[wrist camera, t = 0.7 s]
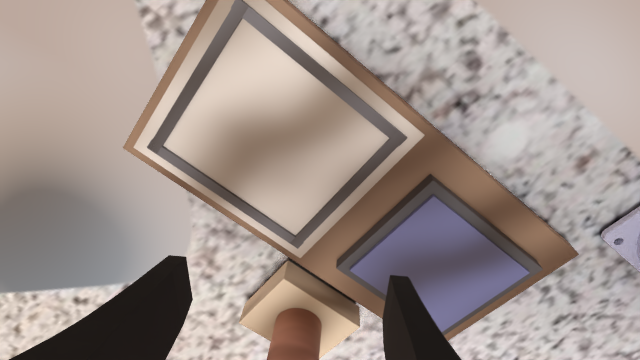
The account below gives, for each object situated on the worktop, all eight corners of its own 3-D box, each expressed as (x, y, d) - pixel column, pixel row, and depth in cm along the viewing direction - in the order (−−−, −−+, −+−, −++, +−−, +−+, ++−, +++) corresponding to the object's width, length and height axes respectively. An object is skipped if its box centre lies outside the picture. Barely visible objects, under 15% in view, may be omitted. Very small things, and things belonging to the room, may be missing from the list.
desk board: (568, 242, 23) (588, 265, 21) (428, 337, 28) (434, 364, 26) (238, -42, 17) (223, -47, 15) (133, 140, 22) (112, 155, 20)
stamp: (359, 300, 27) (362, 411, 20) (314, 337, 29) (302, 449, 22) (289, 254, 25) (265, 356, 18) (247, 297, 28) (212, 402, 21)
